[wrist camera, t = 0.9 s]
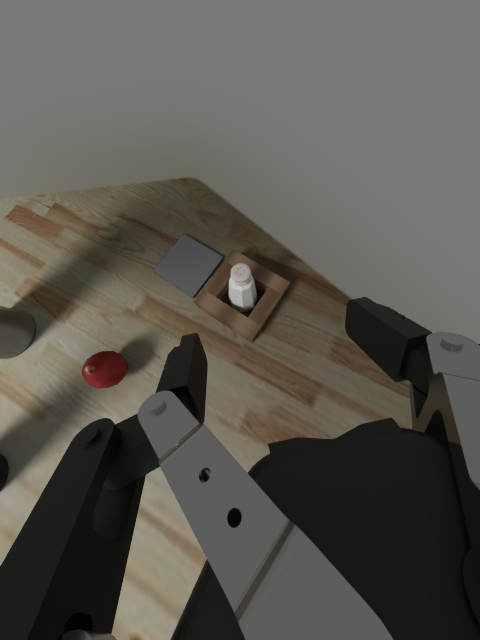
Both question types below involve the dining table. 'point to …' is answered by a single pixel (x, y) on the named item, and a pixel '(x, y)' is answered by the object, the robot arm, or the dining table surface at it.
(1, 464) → the travel mug
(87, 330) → the dining table surface
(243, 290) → the pepper shaker
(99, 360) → the onion
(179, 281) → the rubber pad
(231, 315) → the socket block
